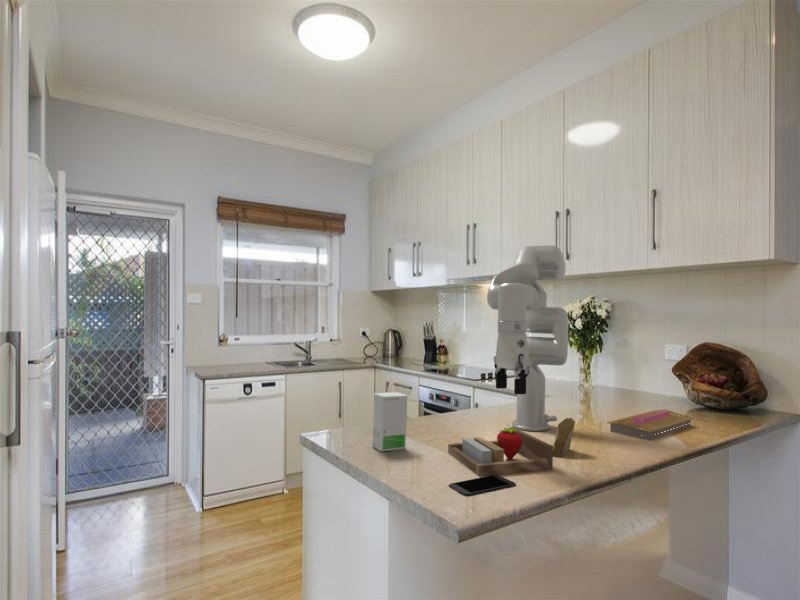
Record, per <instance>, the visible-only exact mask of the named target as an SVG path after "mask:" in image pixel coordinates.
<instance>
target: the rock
mask: <svg viewBox="0 0 800 600" xmlns="http://www.w3.org/2000/svg"><path fill="white" fill-rule="evenodd" d="M575 426H576V421H575V420H574V419H573V418H572V417H566V418H564V419H563V420H561V422H559V423H558V425H557V431H556V434H555V439H554V444H553V445H552V446H553V457H554V456H555V457H557V458H558V457H559V458H560V457H561V456H563V455H564V454H566V453H567V452H568V451H569V450H570V448H571V445H572V439H573V433H574V430H575Z"/></svg>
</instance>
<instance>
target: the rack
mask: <svg viewBox="0 0 800 600" xmlns="http://www.w3.org/2000/svg"><path fill="white" fill-rule="evenodd" d="M514 428H515V427H513V426H512V427H509V429H513V430H518V431H517V432H515V433H517V434H519V435H520V436H521V437H522V441H523V443H522V446H521V449H520V450H519V452H518V453H517V454H519V455H520V456H521V457H522V456H523V457H524V458H526V459H518V460H508V461H507V460H506V461H505V460H504V462H493V463H481V464H479V463H477V462H476V461H475V460H473V459H472V458H470V457H469V456H468V455H466V454H465V453H463V452H462V444H463V442H456V443H448V444H447V445H448V446H447V450H448V451H447V453H448V454H449V455H450V456H452V457H453V458H454V459H455V460H457V461H459V462H460V464H462V465H463V466H465V467H466V468H467V469H468V470H470V471H472V473H474V474H475V475H477V477H486V476H491V475H503V474H504V475H505V474H507V475H508V474H516V473H517V474H518V473H526V472H528V473H529V472H538V471H547V470H548V471H550V470H553V469H554V467H553V463H554V460H553V459H554V458H553V457H554V455H553V445H552V444H550V443H548V442H545V441H544V440H541V439H540V438H538V437H536V436H533V435H531V434H529V433H526V432H524V431H523V430H521V429H518V428H515V429H514ZM488 441H489V442H491V443H493V444H495V445H496V446H498V447H499V445H498V441H497V439H496V440H488Z"/></svg>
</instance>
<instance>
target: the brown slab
mask: <svg viewBox="0 0 800 600" xmlns="http://www.w3.org/2000/svg"><path fill="white" fill-rule="evenodd" d="M694 419H695V418H694V417H693V416H689V415H685V414H682V413H678V412H675V411H672V410H668V409H656V410H650V411H647V412H643V413H639V414H634V415H630V416H627V417H623V418H619V419H615V420H611V421H607V422H606V424H610V425H609V426H610V431H609V432H611V433H614V434H620V435H624V436H627V437H633V438H635V439H637V438H638V439H641V440H646V441H650V440H653V439H657V438H659V437H663V436H666V435H668V434H671V433H674V432H677V431H680V430H683V429H686V428H687V429H688V428H690V427H691V422H692V421H691V420H694ZM688 423H690V424H688ZM685 424H687V425H685ZM682 425H684V426H682ZM679 426H681V427H679ZM689 426H690V427H689ZM676 427H678V428H676ZM673 428H675V429H673ZM670 429H672V430H670ZM667 430H669V431H667ZM664 431H666V432H664ZM661 432H663V433H661ZM658 433H659V434H658ZM655 434H656V435H655ZM641 435H642V436H641Z"/></svg>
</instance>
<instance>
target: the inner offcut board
mask: <svg viewBox="0 0 800 600" xmlns="http://www.w3.org/2000/svg"><path fill="white" fill-rule="evenodd" d="M473 440H475V441H477V442H478V443H480V444H481V445H483V446H485V447H486V448H488V449H490V450H491V451H492V455H491V463H493V462H505V454H504V449H502V448H500V447H498V446H496V445H495V444H493V443H491V442H489V441H490V440H487V439H486V438H484V437H482V436H480V437H473Z"/></svg>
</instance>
